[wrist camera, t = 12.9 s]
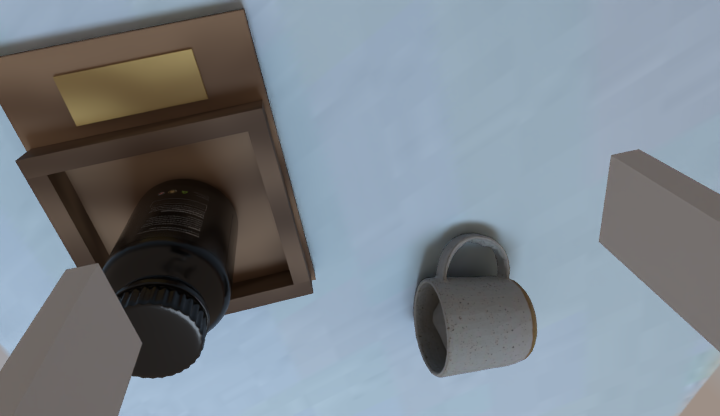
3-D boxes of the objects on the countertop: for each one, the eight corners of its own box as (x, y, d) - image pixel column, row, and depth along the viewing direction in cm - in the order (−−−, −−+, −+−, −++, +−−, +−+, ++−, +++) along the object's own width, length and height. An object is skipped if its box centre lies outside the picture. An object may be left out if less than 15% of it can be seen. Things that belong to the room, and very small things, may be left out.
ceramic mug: (492, 323, 44) (533, 387, 37) (409, 331, 42) (436, 398, 36) (514, 225, 39) (566, 277, 32) (421, 229, 38) (455, 285, 31)
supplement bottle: (113, 221, 31) (37, 351, 21) (181, 155, 30) (135, 258, 20) (195, 276, 35) (163, 413, 24) (259, 218, 33) (255, 335, 23)
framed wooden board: (-14, 59, 27) (-45, 69, 24) (244, 8, 28) (241, 13, 25) (128, 317, 36) (117, 344, 34) (314, 272, 37) (317, 295, 35)
